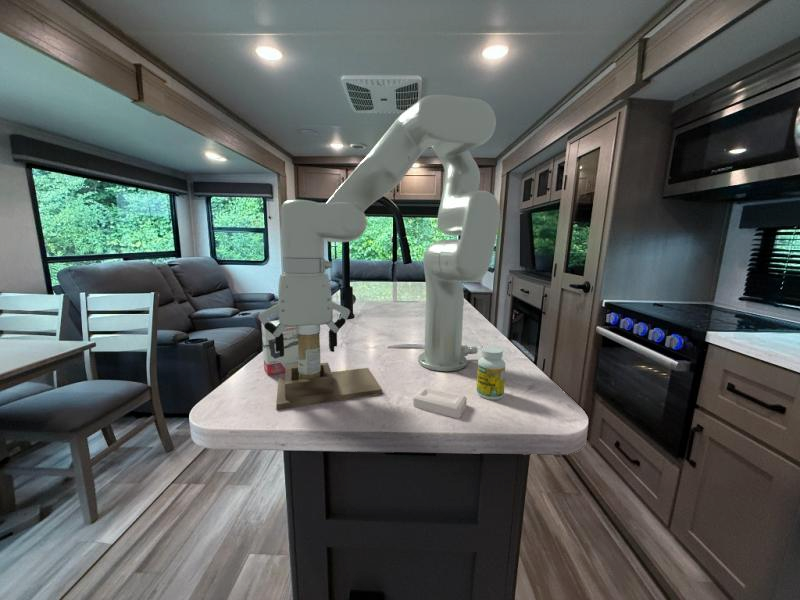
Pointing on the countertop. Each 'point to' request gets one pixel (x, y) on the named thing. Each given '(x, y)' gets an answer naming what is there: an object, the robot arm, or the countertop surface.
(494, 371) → the supplement bottle
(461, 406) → the white soap dish
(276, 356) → the ink box
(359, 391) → the caddy board
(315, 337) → the sprinkles bottle
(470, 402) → the countertop surface
